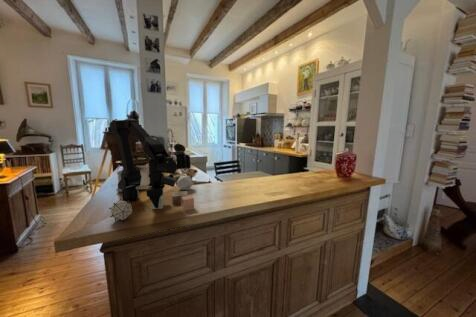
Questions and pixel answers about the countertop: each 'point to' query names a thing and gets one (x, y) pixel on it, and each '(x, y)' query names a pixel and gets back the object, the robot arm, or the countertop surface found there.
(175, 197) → the walnut base
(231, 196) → the countertop surface
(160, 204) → the sage block
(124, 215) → the game die
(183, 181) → the die
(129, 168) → the robot arm
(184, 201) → the terracotta block
